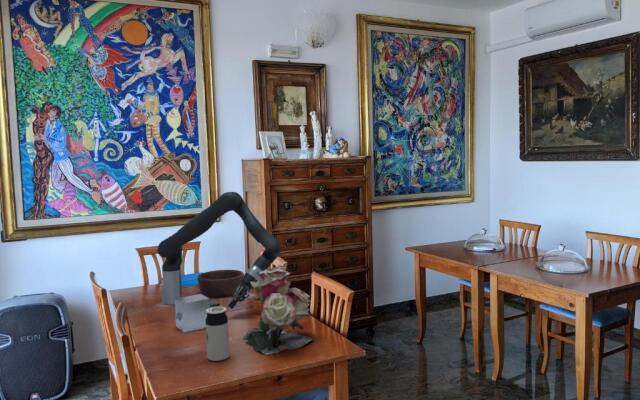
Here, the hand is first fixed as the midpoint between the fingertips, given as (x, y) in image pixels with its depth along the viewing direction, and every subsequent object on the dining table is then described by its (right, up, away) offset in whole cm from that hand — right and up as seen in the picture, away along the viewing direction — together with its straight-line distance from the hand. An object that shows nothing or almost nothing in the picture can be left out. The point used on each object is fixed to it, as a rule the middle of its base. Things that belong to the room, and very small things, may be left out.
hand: (229, 307), depth 236 cm
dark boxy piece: (-13, -6, -8) cm, 16 cm away
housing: (-14, -6, -9) cm, 18 cm away
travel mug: (+4, -9, -45) cm, 46 cm away
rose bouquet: (+26, -7, -30) cm, 40 cm away
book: (-38, -1, +71) cm, 81 cm away
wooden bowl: (-13, -2, +47) cm, 49 cm away
